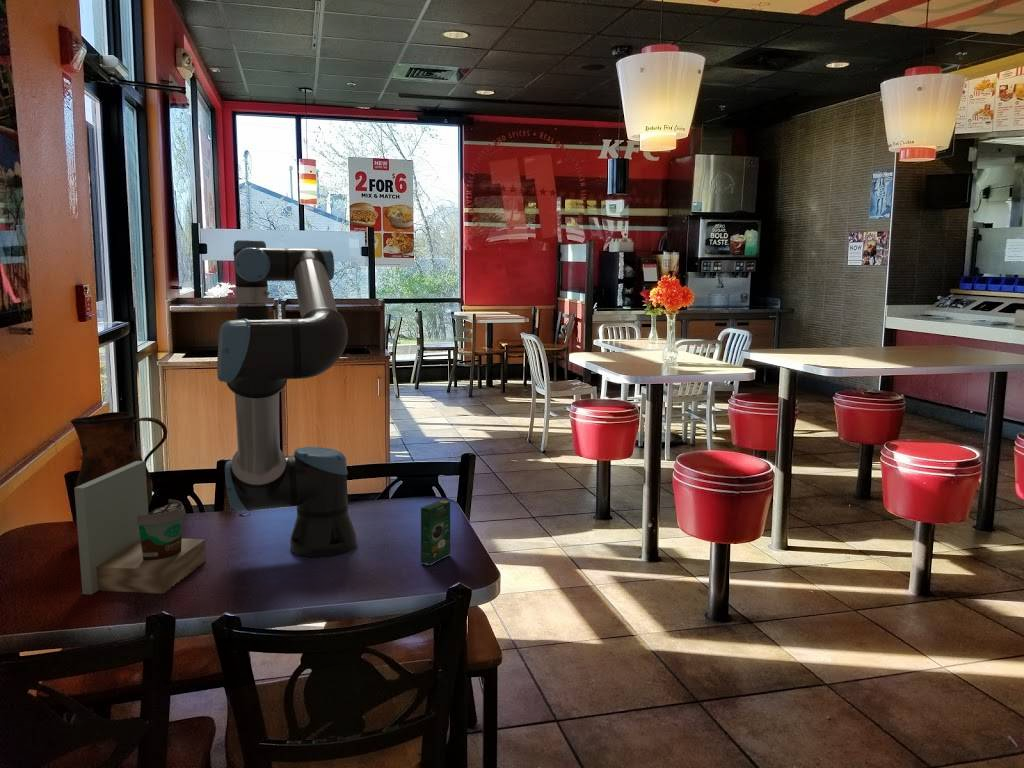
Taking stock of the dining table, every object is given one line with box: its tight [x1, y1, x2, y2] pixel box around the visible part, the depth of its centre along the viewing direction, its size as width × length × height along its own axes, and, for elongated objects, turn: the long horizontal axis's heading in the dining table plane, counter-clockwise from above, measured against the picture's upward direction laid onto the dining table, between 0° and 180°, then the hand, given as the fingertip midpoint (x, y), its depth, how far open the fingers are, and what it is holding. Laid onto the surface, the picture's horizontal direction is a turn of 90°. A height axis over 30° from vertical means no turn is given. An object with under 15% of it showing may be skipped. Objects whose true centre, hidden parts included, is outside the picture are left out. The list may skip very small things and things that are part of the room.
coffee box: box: [420, 499, 451, 564], centre depth 179 cm, size 8×3×13 cm, turn 149°
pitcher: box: [70, 411, 168, 507], centre depth 192 cm, size 17×21×30 cm
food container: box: [136, 498, 186, 560], centre depth 168 cm, size 12×6×10 cm, turn 172°
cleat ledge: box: [96, 538, 207, 594], centre depth 170 cm, size 14×18×5 cm
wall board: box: [73, 460, 150, 595], centre depth 169 cm, size 2×22×22 cm, turn 174°
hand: (256, 391), depth 196 cm, fingers open, 13 cm apart
